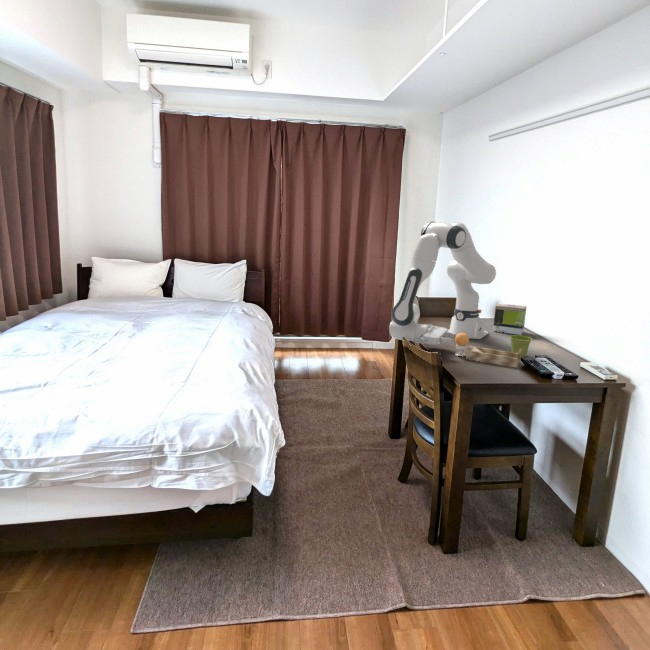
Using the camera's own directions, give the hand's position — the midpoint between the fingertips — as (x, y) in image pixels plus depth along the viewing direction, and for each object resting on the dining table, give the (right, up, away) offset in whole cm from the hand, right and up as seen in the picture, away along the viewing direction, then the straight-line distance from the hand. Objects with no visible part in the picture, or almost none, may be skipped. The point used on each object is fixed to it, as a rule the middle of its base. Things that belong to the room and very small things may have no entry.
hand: (453, 338), depth 217 cm
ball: (+3, -3, -1) cm, 5 cm away
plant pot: (+31, -8, +4) cm, 32 cm away
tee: (+3, -8, 0) cm, 8 cm away
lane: (+16, -10, -6) cm, 19 cm away
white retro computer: (+43, +2, +47) cm, 64 cm away
